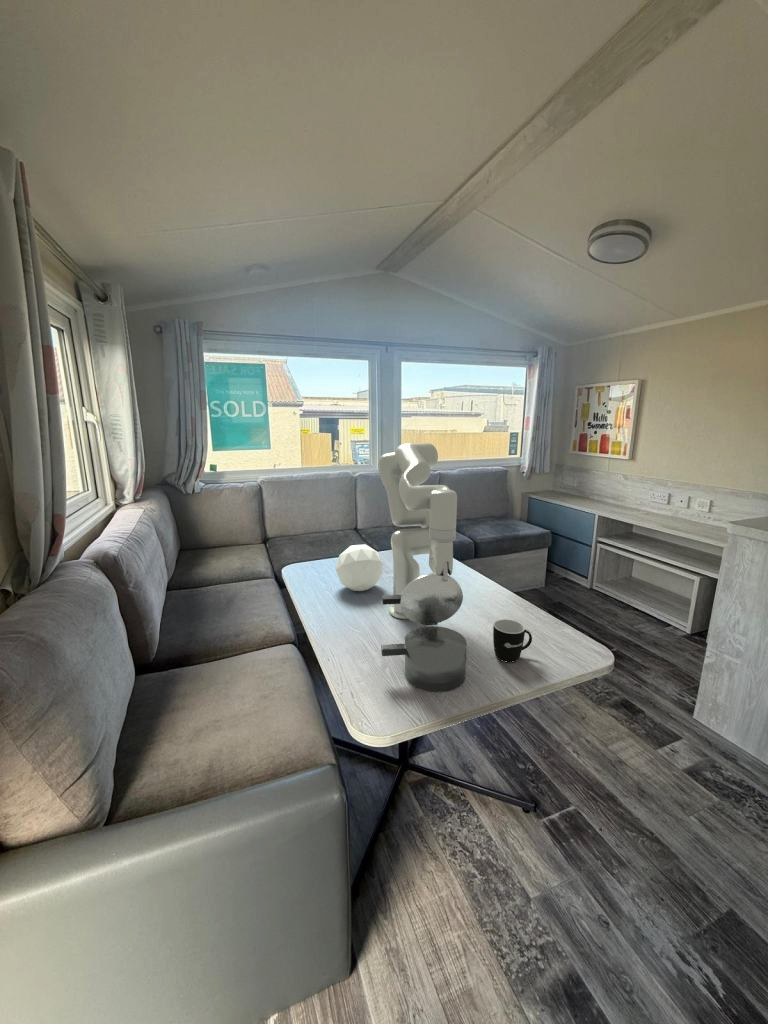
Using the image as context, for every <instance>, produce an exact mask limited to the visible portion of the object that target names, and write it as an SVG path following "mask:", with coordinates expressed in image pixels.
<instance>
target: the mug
mask: <svg viewBox="0 0 768 1024" xmlns="http://www.w3.org/2000/svg"><path fill="white" fill-rule="evenodd" d="M492 629H493V630H492V633H493V634H492V638H493V639H492V642H493V648H494V654H495V657H496V656H497V657H498V658H499V659H500V660H499V659H498V658H497V657H496V658H497V659H498V660H499V661H501V660H503V661H507V662H506V663H508V662H512V661H515V662H517V661H518V660H519V658H520V657H521V654H522V652H523V651H524V650H526V649H527V648H529V647H530V645H531V644H532V642H533V637H532V634H531V632H530V631H529V630H527V629H526V627H525V625H523V624H522V623H521V622H519V621H517V620H515V619H514V620H513V619H506V618H502V619H498V620H495V621H494V622H493V627H492ZM526 634H528V641H527V642H526V643H525V644H524V640H525V635H526ZM516 660H517V661H516ZM503 661H502V662H503ZM512 663H513V662H512Z"/></svg>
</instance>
